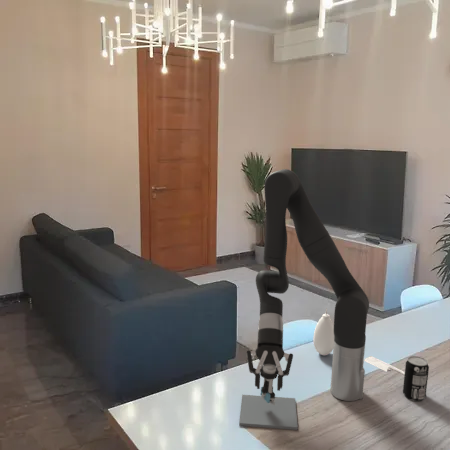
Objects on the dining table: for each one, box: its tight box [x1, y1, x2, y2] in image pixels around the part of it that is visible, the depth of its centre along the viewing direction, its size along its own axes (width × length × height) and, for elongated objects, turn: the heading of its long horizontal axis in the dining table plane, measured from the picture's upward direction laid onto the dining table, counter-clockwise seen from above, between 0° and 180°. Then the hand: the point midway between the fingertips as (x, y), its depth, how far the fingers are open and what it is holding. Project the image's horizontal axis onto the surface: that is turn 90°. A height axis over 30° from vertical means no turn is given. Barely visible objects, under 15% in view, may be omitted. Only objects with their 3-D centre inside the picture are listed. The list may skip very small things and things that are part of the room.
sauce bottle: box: [312, 307, 334, 356], centre depth 168 cm, size 8×8×18 cm
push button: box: [260, 364, 279, 405], centre depth 133 cm, size 7×5×10 cm
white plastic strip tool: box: [364, 355, 405, 376], centre depth 161 cm, size 5×15×1 cm, turn 36°
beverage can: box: [402, 355, 430, 402], centre depth 143 cm, size 7×7×12 cm
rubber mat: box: [238, 394, 299, 431], centre depth 135 cm, size 16×14×1 cm
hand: (268, 388), depth 131 cm, fingers closed on push button, 5 cm apart
